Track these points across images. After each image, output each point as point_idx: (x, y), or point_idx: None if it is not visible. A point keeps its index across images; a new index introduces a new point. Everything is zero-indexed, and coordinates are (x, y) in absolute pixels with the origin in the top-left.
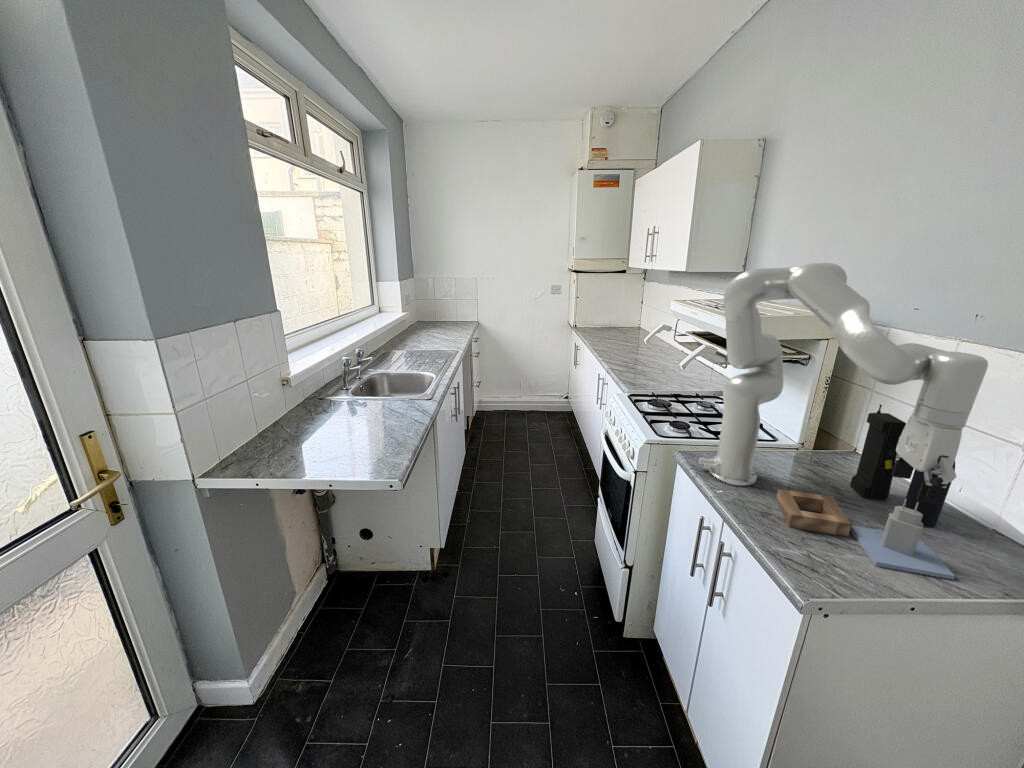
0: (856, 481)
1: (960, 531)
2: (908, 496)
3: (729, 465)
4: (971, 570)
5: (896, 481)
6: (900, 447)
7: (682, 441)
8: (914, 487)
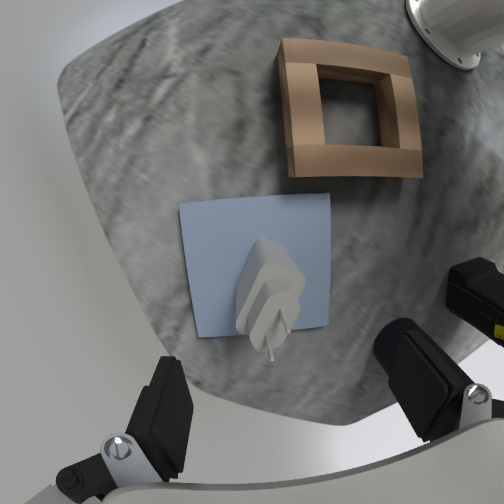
0: (484, 266)
1: (368, 385)
2: None
3: None
4: (248, 368)
5: None
6: (494, 478)
7: None
8: None
